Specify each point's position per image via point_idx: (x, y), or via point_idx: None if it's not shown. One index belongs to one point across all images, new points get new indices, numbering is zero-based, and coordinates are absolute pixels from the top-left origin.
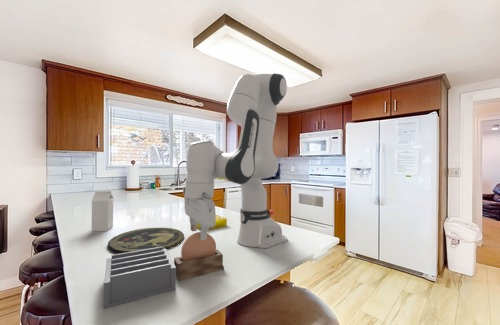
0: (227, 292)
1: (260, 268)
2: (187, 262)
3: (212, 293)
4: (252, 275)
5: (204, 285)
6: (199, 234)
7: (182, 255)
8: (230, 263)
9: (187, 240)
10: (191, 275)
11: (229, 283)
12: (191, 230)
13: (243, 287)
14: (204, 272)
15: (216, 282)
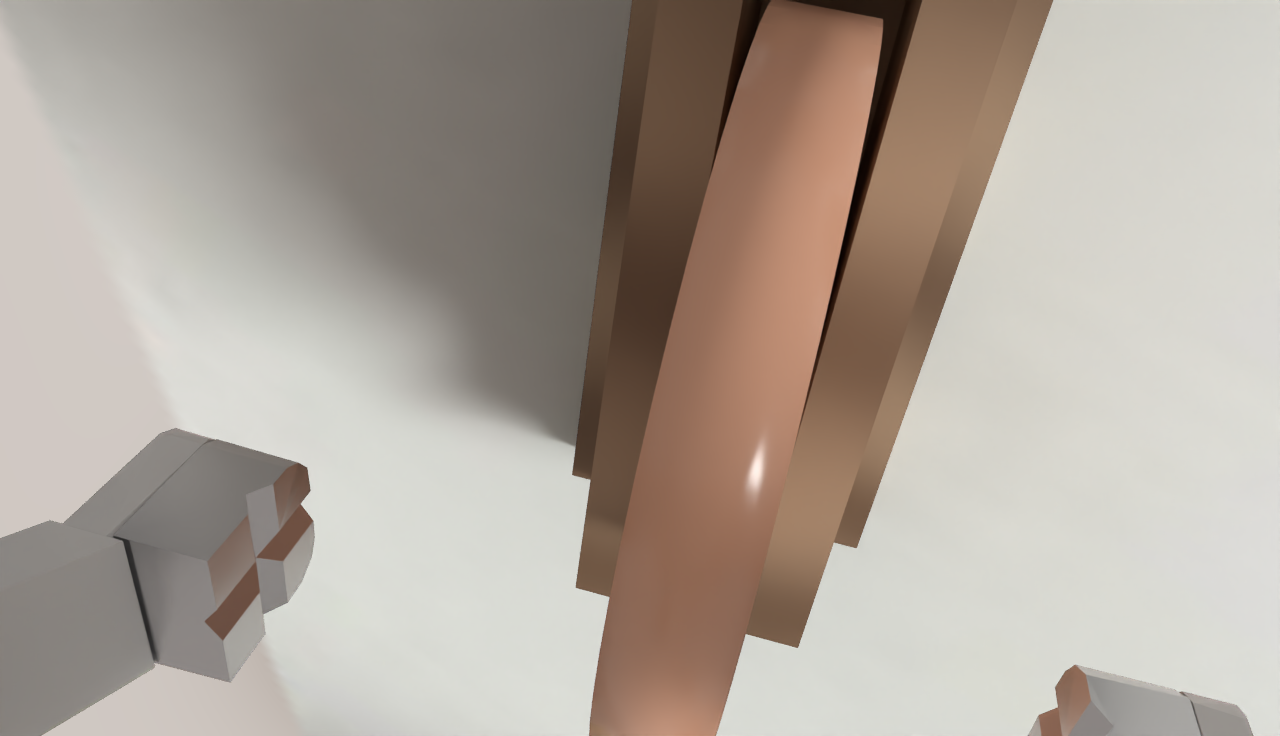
0: (129, 192)
1: (401, 675)
2: (654, 36)
3: (165, 53)
4: (319, 550)
5: (363, 69)
6: (230, 529)
7: (769, 4)
8: None
9: (707, 259)
10: (633, 32)
11: (278, 310)
12: (1156, 686)
13: (158, 360)
14: (607, 226)
15: (360, 220)
